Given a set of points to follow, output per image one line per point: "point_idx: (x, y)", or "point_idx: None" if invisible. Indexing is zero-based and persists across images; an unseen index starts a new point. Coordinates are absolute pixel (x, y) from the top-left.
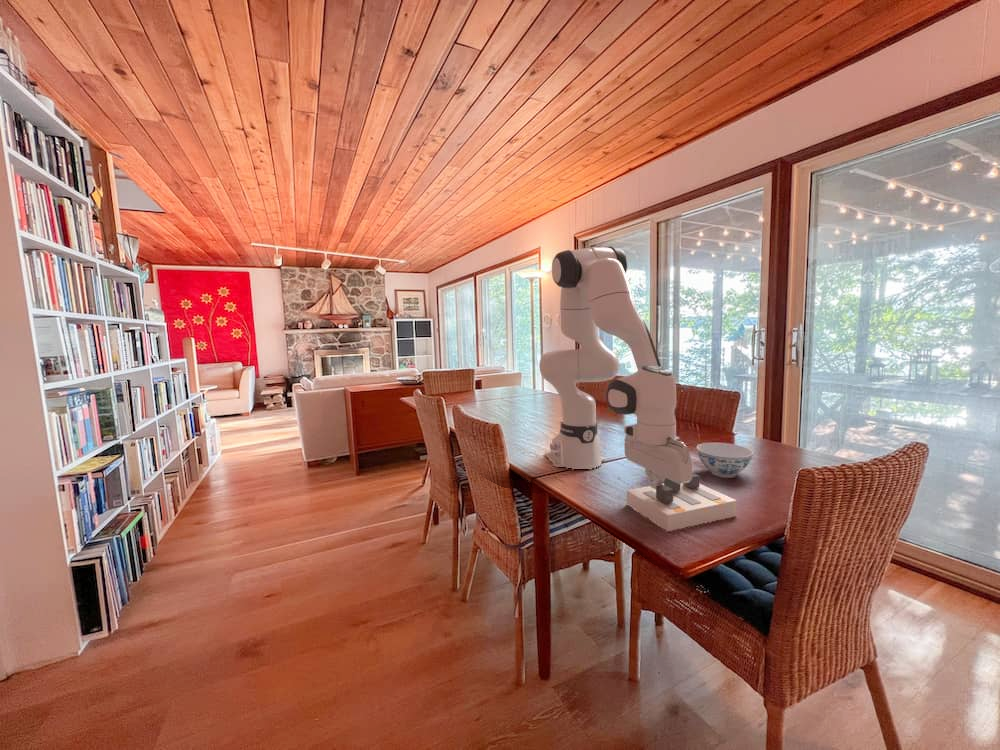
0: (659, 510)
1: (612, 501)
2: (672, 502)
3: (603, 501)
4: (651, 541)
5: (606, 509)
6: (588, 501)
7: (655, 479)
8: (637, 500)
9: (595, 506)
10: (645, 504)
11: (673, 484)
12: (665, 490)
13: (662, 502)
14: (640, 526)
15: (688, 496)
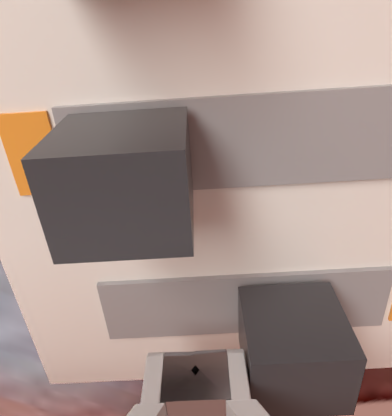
0: None
1: (23, 342)
2: (322, 277)
3: (19, 369)
4: (387, 370)
5: (101, 387)
6: (12, 409)
7: (166, 412)
8: None
9: (65, 405)
10: None
11: (192, 221)
12: (349, 409)
13: None
14: None
15: (297, 100)
